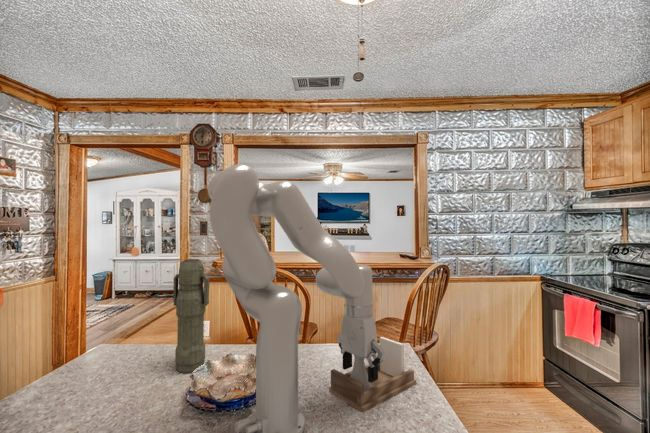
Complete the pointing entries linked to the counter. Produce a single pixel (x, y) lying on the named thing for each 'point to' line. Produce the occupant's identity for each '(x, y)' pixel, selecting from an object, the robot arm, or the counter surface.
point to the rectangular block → (392, 357)
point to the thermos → (190, 314)
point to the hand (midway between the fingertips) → (359, 374)
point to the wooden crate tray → (377, 394)
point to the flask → (360, 372)
